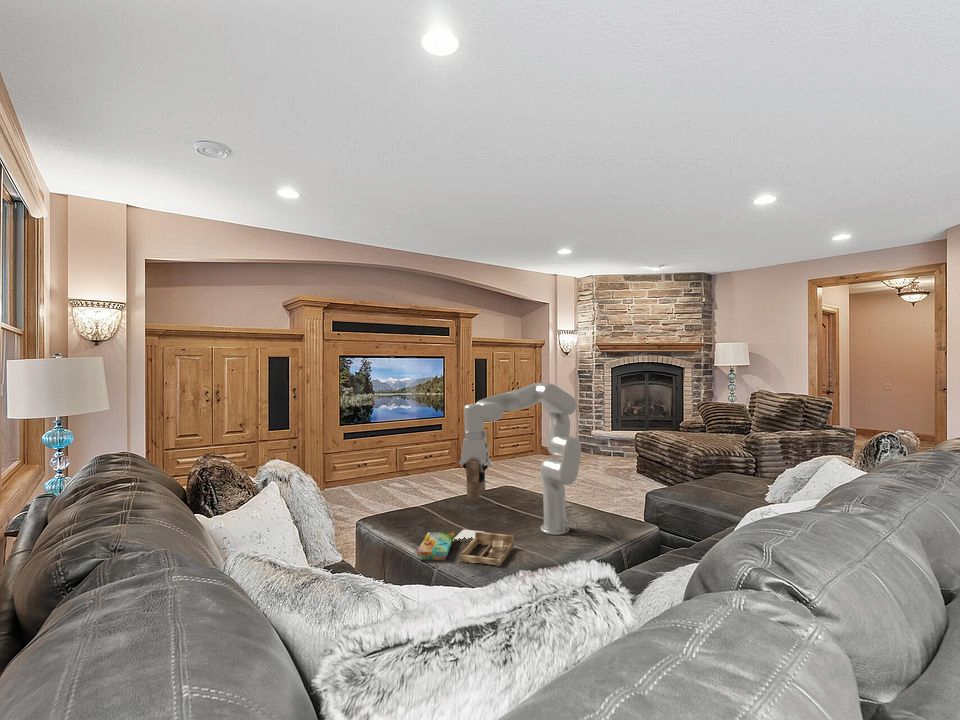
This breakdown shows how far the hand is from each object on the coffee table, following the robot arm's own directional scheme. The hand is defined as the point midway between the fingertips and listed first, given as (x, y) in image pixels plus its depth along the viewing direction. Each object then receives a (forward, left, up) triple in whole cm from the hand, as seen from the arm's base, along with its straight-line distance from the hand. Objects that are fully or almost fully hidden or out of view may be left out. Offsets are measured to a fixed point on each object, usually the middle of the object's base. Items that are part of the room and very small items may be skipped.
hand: (476, 480), depth 203 cm
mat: (+10, -15, -29) cm, 34 cm away
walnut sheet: (0, 0, -5) cm, 5 cm away
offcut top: (-8, 0, -26) cm, 28 cm away
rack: (-4, 0, -29) cm, 29 cm away
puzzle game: (+17, +2, -30) cm, 34 cm away
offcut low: (-8, 0, -29) cm, 31 cm away
